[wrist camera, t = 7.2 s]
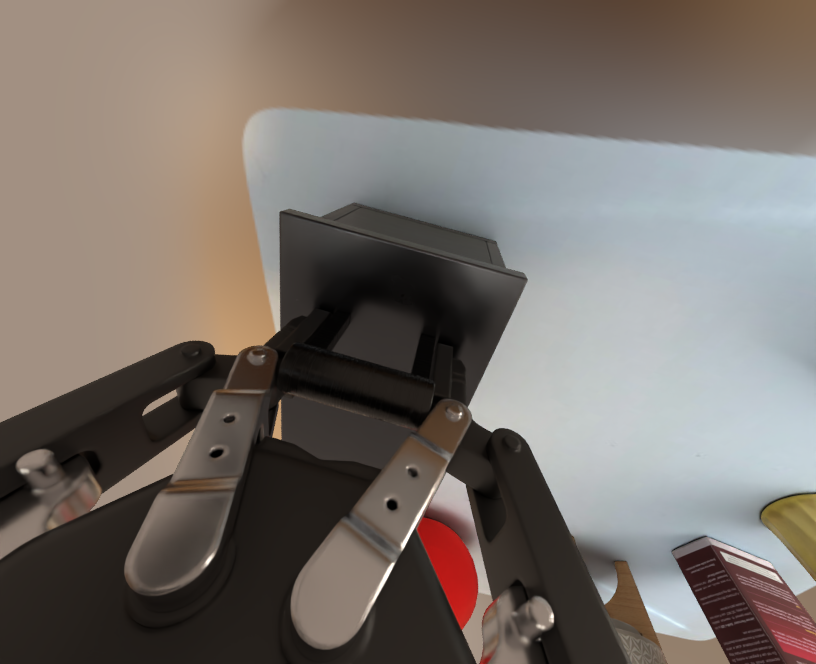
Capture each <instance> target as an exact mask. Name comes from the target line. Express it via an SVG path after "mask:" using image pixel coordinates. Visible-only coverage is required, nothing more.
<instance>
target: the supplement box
mask: <svg viewBox="0 0 816 664" xmlns="http://www.w3.org/2000/svg"><path fill="white" fill-rule="evenodd" d="M672 554H673V556H674V558H675V559H676V561H677V563H678V565H679V567H680V569H681V571H682V573H683V575H684V577H685V578H686V580H687V582H688V584H689V586H690V588H691V590H692V592H693V594H694V596H695V597H696V599H697V601H698V603H699V605H700V607H701V609H702V611H703V613H704V614H705V616H706V618H707V620H708V622H709V624H710V626H711V628H712V630H713V632H714V634H715V636H716V637H717V639H718V641H719V643H720V645H721V647H722V649H723V651H724V653H725V655H726V657H727V658H728V660H729V662H730V664H816V623H815V622H814V620H813V619H812V617H811V616H810V615H809V613H808V612H807V611H806V610H805V608H804V607H803V606H802V604H801V603H800V601H799V600H798V599H797V598H796V596H795V595H794V594H793V592H792V591H791V589H790V588H789V587H788V585H787V584H786V583H785V581H784V580H783V579H782V577H781V576H780V575H779V574H778V572H777V571H776V569H775V568H774V567H773V565H772V564H771V563H770V562H768V561H765V560H763V559H760V558H758V557H755V556H753V555H750V554H748V553H745V552H743V551H740V550H738V549H736V548H733V547H731V546H728V545H726V544H723V543H721V542H718V541H716V540H714V539H711V538H709V537H704V538H701V539H698V540H696V541H693V542H691V543H689V544H686V545H684V546H682V547H680V548H678V549H676V550H674V551H672Z"/></svg>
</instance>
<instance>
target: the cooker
mask: <svg viewBox="0 0 816 664" xmlns="http://www.w3.org/2000/svg"><path fill="white" fill-rule="evenodd" d="M321 218H325V219H328V220H332V221H336V222H339V223H343V224H347V225H350V226H354V227H358V228H361V229H365V230H369V231H372V232H376V233H380V234H383V235H387V236H391V237H394V238H398V239H401V240H405V241H409V242H412V243H416V244H420V245H423V246H427V247H431V248H434V249H438V250H442V251H445V252H449V253H453V254H456V255H460V256H464V257H467V258H471V259H474V260H478V261H482V262H485V263H489V264H493V265H496V266H500V267H504V268H506V267H505V264H504V261H503V259H502V256H501V253H500V251H499V248H498V246H497V243H496V241H492V240H489V239H485V238H481V237H478V236H474V235H470V234H467V233H463V232H459V231H456V230H452V229H448V228H445V227H441V226H437V225H433V224H430V223H426V222H422V221H419V220H415V219H411V218H408V217H404V216H400V215H397V214H393V213H389V212H386V211H382V210H378V209H375V208H371V207H367V206H364V205H360V204H356V203H352V204H350V205H347V206H345V207H343V208H340V209H338V210H336V211H333V212H331V213H329V214H326V215H324V216H322V217H321Z"/></svg>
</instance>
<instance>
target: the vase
mask: <svg viewBox="0 0 816 664" xmlns="http://www.w3.org/2000/svg"><path fill="white" fill-rule="evenodd" d="M761 519H762V522H763V524H764V525H765V526H766V527H767V528H768V529H769V530H771V531H772V532H773V533H774V534H775V535H776V536H777V537H778V538H779V539H780V541H781V542H782V543H783V544H784V545H785V546H786V547H787V549H788V550H789V551H790V552H791V553H792V554H793V555H794V557H795V558H796V559H797V560H798V561H799V562H800V563H801V565H802V566H803V567H804V568H805V569H806V570H807V572H808V573H809V574H810V575H811V576H812V578H813V579H814V580H815V581H816V494H804V495H796V496H791V497H787V498H784V499H781V500H778V501H776V502H774V503H772V504H770V505H769V506H767V507H766V508H765V509H764V510H763V512H762V515H761Z"/></svg>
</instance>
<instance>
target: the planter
mask: <svg viewBox="0 0 816 664" xmlns="http://www.w3.org/2000/svg"><path fill="white" fill-rule="evenodd" d="M572 538H573V540H574V537H573V536H572ZM574 542H575V540H574ZM615 569H616V572H617V578H618V584H617V589H616V592H615V594H614V596H613V597H612V599H611V600H610V601H609V602H608V603H606V604H605V608H606V610H607V612H608V614H609V616H610V618H611V620H612V622H613V624H614V627H615V629H616V631H617V633H618V635H619V637H620V639H621V641H622V643H623V646H624V648H625V650H626V652H627V654H628V656H629V658H630V660H631V662H632V664H667V661H666V659H665V656H664V654H663V652H662V649H661V646H660V643H659V641H658V639H657V636H656V634H655V631H654V629H653V626H652V624H651V621H650V619H649V616H648V614H647V611H646V609H645V606H644V604H643V601H642V599H641V596H640V594H639V591H638V589H637V586H636V584H635V581H634V579H633V576H632V574H631V571H630V569H629V566H628V564H627V562H626V561H615Z"/></svg>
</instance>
